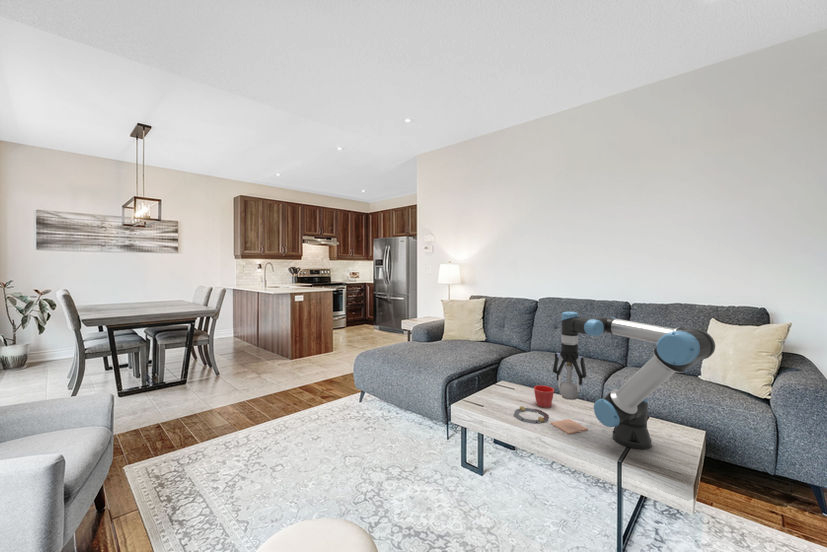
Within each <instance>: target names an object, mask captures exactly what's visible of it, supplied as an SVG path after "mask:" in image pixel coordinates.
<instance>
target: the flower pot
mask: <svg viewBox="0 0 827 552" xmlns="http://www.w3.org/2000/svg"><path fill="white" fill-rule="evenodd" d="M533 390H534V396H535V402H536V405H537V407H540V408H546V409H547V408H550V407H551V406H552V403H553V398H554V395H555V394H554V393H555V389H554V388H553V387H551V386H548V385H535V386H534V387H533Z"/></svg>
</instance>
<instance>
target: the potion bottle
mask: <svg viewBox="0 0 827 552" xmlns="http://www.w3.org/2000/svg"><path fill="white" fill-rule="evenodd" d="M564 367H565V369H566V381H562V384H561V385H560V388H559V389H558V390H559V393H560V395H561V398H562V399H564V400H569V401H574V400H577V398H578V397H579V392H580V391H579V392H577V383H575V382H573V381H572V379H573V378H572V377H573V370H574V365H573V364H572V363H570V362H566V364H564Z"/></svg>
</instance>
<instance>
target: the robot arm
mask: <svg viewBox="0 0 827 552" xmlns="http://www.w3.org/2000/svg"><path fill="white" fill-rule="evenodd" d="M560 319H561V320H560V322H561V338H560V339H561V345H560V346H561V349H560V352H556V353H554V363H553V367H552V373H554V374H556V381H558V388H559V389H560V385H561V384H562V383H563V373H562V370H563V369H564V367H565V365H566V364H567V362H570V363H572V365H573V368H574V370H575V372H576V375H577V376H578V377H577V378H576V385H577V392H580V391H581V386H582V385H583V379H585V378H587V376H588V375H587V369H586V362H585V359H586V357H585V355H584V356H581V355H579V345H578V343H579V334H581V335H588V336H591V337H600V336H601V335H602V334H604V333H605V334H610V335H616V336H620V337H625V338H630V339H635V340H639V341H643V342H646V343H651V344H652V343H653V344H656V347H655V348H654V349H653V351H652V352H653V356H652V357H651V358H650V359H648V361H647V362H646V363H645V364H644V365H643V366H641V367H640V368H639V370H637V371H636V373H634V374H633V375H632V376H631V377H630V378H629V379H628V380H627V381H626V382H625V383H624V384H623V385H622V386H621V387H619V388H618V389H617V388H613V389H612V390H610V391H609V393H608V394H606V396H604V397H603V398H599V399H597V400H595V402H594V404H593V413H594V415H595V418H596V419H597V420H598V422H599V423H601V424H602V425H603V426H605V427H608V428H613V430H612V439H613V440H614V441H615V442H616V443H618V444H620V445H622V446H624V447H626V448H632V449H637V450H648V449H650V448H651V447H652V444H653V442H652V438H651V435H650V431H649V429H648V404H649V402H648V397H649V396H650V395H652V393H654V392H655V391H656V390H657V389H658V388H659V387H661V385H663V384H664V383H665V382H666V381H667V380H668V379H669V378H671V377H672V376H673V375H674V374H675V373H684V372H686V371H687V369H689V368H690V367H691V366H692V365H693V364H695V363H696V362H699V361H704V360H706V359H709V358H710V357H711V356H712V355H713V354H714V353H715V350H716V342H715V340H714V338H713V336H711V335H710V334H709V333H708V332H707V331H705V330H703V329H702V330H701V329H699V328H688V327H682V326H678V327H676V328H674V327H673V328H672V327H668V326H660V325H656V324H650V323H643V322H637V321H632V320H625V319H622V318H621V319H620V318H615V317H614V316H609V315H607V316H601V317H600V316H598V317H590V318H587V317H580V316H579V313H578V312H576V311H563V312H562V313H561V318H560ZM560 357H561V358H562V360H561V363H560V365H559V359H560ZM577 360H579V362H580V366H579V363H578V361H577ZM558 365H559V366H558ZM580 368H581V369H580Z"/></svg>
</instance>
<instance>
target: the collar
mask: <svg viewBox="0 0 827 552" xmlns="http://www.w3.org/2000/svg"><path fill="white" fill-rule="evenodd" d="M523 412H531V413H537V412H538V413H537V414H540V415H541V416H539V417H538V416H537V417H538V418H537V419H530V418H525V417H523V416H521V415H520V413H523ZM513 416H514V417H515V418H516V419H518V420H520V421H521V422H523V423H529V424H534V425H535V424H537V425H539V424H543V423H548V421H549V418H550V417H549V414H548V413H546V412H545V411H543V410H541V409H537V408H531V407H525V406H524V405H522V406H521V405H520V406H519V408H516V409H515V411H514V412H513ZM542 416H543V417H542Z"/></svg>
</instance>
